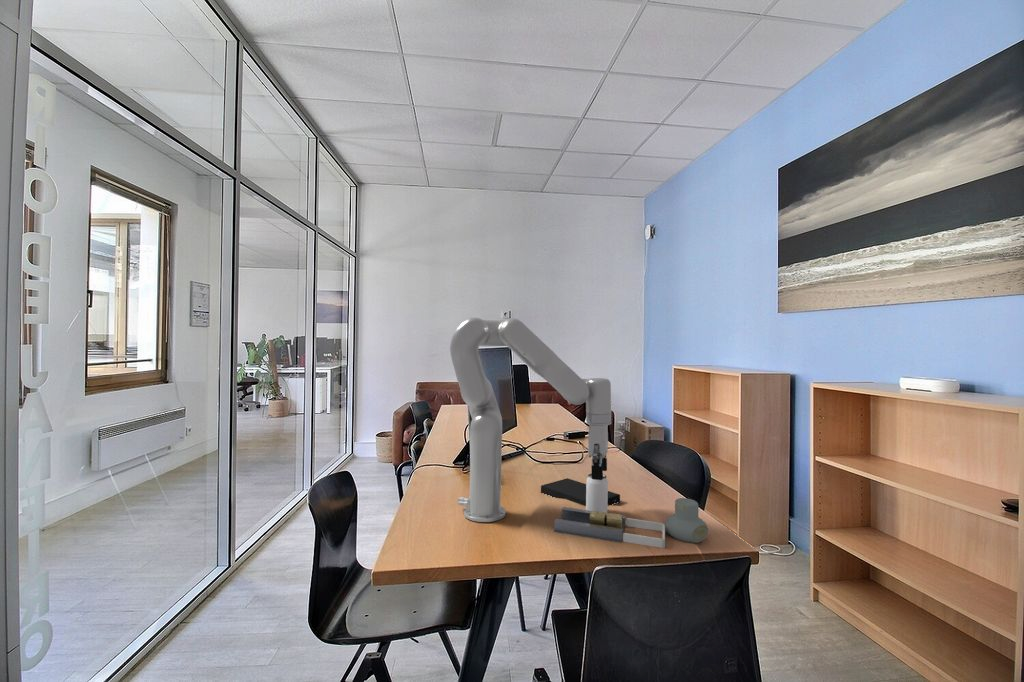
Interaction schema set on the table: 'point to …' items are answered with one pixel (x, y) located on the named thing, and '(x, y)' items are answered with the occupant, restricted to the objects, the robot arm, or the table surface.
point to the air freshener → (686, 522)
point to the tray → (645, 539)
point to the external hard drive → (573, 491)
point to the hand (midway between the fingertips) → (599, 474)
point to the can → (597, 494)
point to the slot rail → (586, 526)
